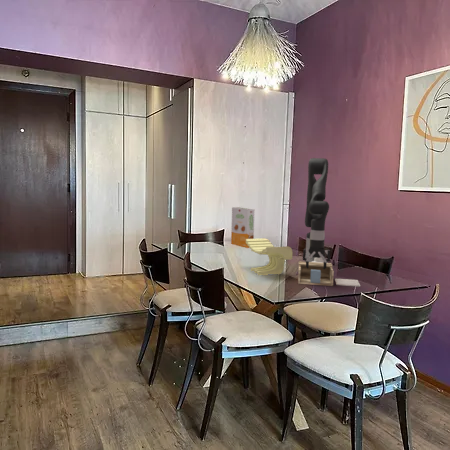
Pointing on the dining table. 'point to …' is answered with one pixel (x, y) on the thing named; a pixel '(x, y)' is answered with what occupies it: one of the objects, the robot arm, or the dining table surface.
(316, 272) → the block
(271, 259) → the slatted curved stool
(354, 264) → the dining table surface
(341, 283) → the mat
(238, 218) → the cereal box
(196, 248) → the dining table surface
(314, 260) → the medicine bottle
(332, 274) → the cubby
